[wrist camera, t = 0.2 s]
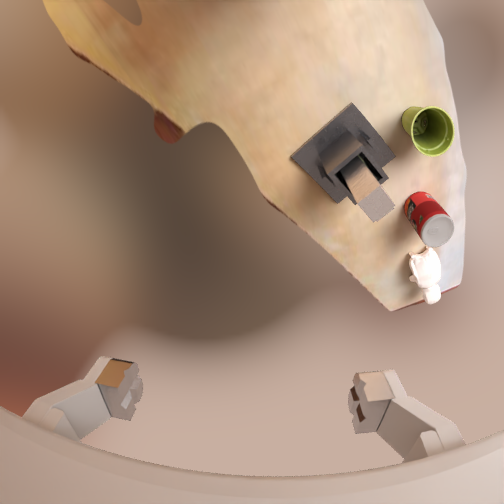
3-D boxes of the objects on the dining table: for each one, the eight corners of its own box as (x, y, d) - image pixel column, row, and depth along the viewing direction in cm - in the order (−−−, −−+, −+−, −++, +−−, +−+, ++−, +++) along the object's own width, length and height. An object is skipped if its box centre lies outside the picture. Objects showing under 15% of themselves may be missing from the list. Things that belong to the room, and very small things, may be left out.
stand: (351, 102, 48) (372, 115, 38) (393, 154, 53) (419, 180, 43) (290, 155, 56) (295, 181, 45) (336, 201, 61) (349, 235, 51)
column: (347, 141, 52) (380, 183, 35) (362, 159, 53) (398, 207, 37) (330, 155, 54) (355, 203, 38) (346, 172, 55) (374, 225, 39)
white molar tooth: (401, 251, 71) (414, 299, 73) (409, 261, 63) (422, 313, 65) (429, 239, 68) (441, 288, 70) (439, 248, 60) (451, 301, 62)
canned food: (401, 195, 59) (420, 221, 50) (431, 186, 56) (454, 210, 47) (405, 224, 63) (422, 252, 54) (434, 214, 60) (454, 241, 51)
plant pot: (391, 140, 52) (408, 154, 45) (394, 95, 46) (413, 102, 39) (430, 144, 51) (450, 159, 44) (435, 102, 45) (457, 111, 38)
